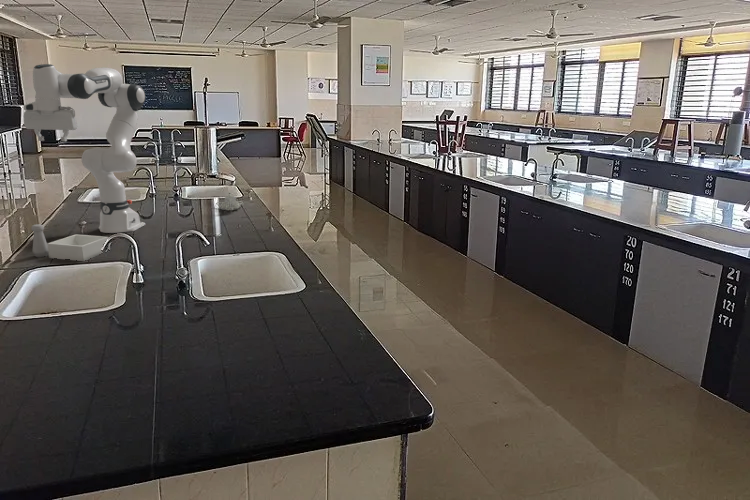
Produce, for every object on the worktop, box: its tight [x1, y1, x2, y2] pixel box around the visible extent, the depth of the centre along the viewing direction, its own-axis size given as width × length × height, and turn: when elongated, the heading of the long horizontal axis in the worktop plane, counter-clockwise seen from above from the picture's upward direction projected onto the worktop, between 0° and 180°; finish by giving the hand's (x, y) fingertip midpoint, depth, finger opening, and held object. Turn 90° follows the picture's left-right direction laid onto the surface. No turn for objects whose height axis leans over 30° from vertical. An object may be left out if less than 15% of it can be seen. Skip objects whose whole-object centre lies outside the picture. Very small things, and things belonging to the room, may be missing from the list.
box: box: [47, 233, 111, 262], centre depth 237 cm, size 16×16×6 cm
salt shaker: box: [30, 223, 49, 258], centre depth 233 cm, size 6×6×13 cm
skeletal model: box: [215, 191, 244, 211], centre depth 328 cm, size 16×9×25 cm
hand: (52, 141), depth 236 cm, fingers open, 8 cm apart
